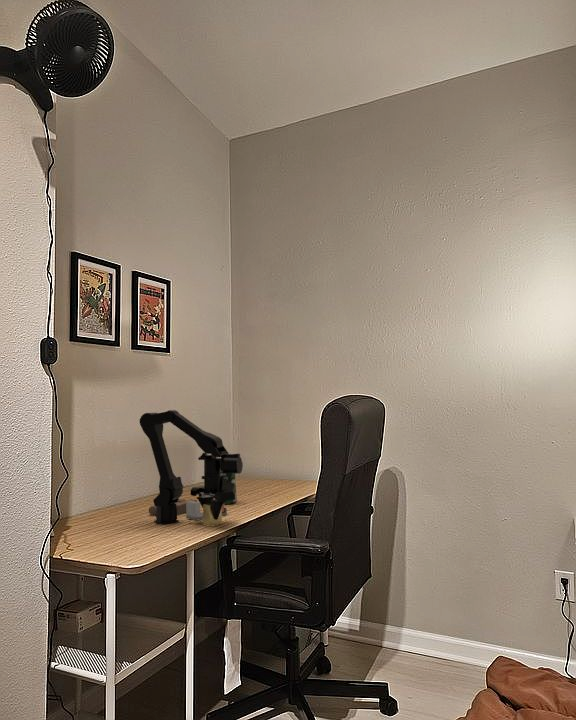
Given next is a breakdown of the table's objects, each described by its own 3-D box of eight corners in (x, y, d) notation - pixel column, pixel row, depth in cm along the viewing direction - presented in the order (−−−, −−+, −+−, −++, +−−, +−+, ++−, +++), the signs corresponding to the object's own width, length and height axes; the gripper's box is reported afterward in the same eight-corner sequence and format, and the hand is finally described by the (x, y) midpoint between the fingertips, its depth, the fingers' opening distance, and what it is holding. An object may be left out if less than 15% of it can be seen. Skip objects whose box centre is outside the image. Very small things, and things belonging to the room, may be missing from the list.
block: (209, 526, 205) (209, 505, 205) (203, 524, 208) (203, 504, 208) (221, 524, 208) (221, 503, 208) (214, 522, 211) (214, 502, 211)
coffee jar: (209, 504, 249) (209, 458, 250) (219, 500, 256) (219, 456, 257) (230, 505, 245) (230, 459, 246) (239, 502, 252) (239, 457, 253)
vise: (195, 520, 215) (195, 503, 216) (186, 518, 220) (186, 501, 220) (226, 514, 225) (226, 498, 225) (217, 512, 229) (217, 496, 230)
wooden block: (197, 508, 238) (172, 517, 221) (173, 507, 241) (147, 515, 225) (197, 499, 238) (172, 507, 221) (173, 498, 242) (147, 505, 225)
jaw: (220, 512, 223) (219, 500, 223) (211, 510, 227) (211, 498, 227) (224, 511, 224) (224, 499, 225) (215, 509, 228) (215, 497, 229)
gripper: (247, 473, 208) (247, 519, 207) (215, 468, 221) (215, 511, 220) (221, 476, 200) (221, 523, 199) (189, 471, 214) (189, 516, 213)
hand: (212, 518), depth 208 cm, fingers closed on block, 4 cm apart
